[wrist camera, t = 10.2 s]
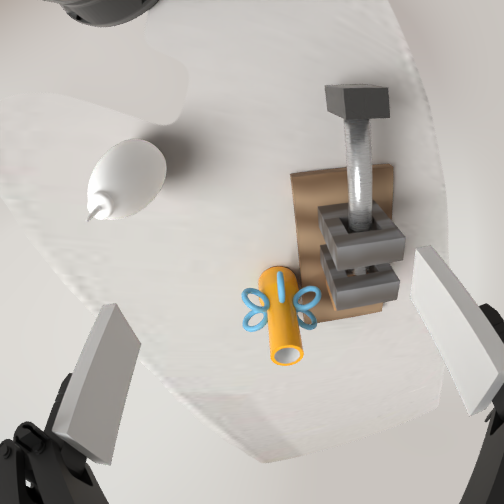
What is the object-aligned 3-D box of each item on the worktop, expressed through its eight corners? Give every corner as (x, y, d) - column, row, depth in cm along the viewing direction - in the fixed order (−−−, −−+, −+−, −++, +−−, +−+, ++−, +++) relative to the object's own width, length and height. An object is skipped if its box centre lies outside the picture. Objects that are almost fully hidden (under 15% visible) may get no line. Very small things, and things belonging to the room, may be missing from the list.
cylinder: (327, 270, 48) (352, 341, 35) (292, 315, 53) (304, 387, 40) (258, 239, 45) (263, 311, 32) (227, 290, 50) (223, 365, 37)
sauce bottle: (187, 157, 38) (147, 219, 23) (150, 198, 41) (101, 276, 26) (142, 119, 35) (73, 156, 20) (109, 163, 38) (37, 223, 23)
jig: (290, 173, 40) (306, 212, 30) (389, 163, 39) (432, 197, 29) (303, 318, 53) (314, 373, 43) (379, 305, 52) (401, 355, 42)
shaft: (324, 85, 30) (343, 88, 24) (362, 84, 30) (387, 87, 24) (335, 256, 42) (349, 288, 36) (366, 251, 42) (383, 282, 36)
